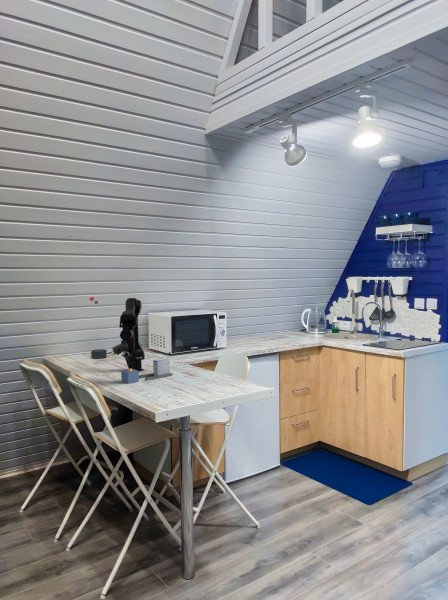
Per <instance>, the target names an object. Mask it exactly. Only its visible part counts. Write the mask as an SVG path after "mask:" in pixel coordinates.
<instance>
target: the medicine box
mask: <svg viewBox="0 0 448 600" xmlns="http://www.w3.org/2000/svg"><path fill="white" fill-rule="evenodd" d="M152 361H153V362H152V365H153V366H152V367H153V372H152V373H154V376H157V375H163V374H168V373H171V365H170V364H171V363H170V362H171V360H170V359H169V358H159V359H154V360H152Z"/></svg>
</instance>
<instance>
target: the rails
mask: <svg viewBox="0 0 448 600" xmlns="http://www.w3.org/2000/svg"><path fill="white" fill-rule="evenodd" d="M172 375H173V372H172V373H171V372H170V373H168V374H163V375H157V376H154V372H150V373H145V374H141V375H139V379H143V378H144V381H151V380H156V379H162V378H167V377H172Z"/></svg>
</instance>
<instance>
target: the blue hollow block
mask: <svg viewBox="0 0 448 600" xmlns="http://www.w3.org/2000/svg"><path fill="white" fill-rule="evenodd" d="M120 372H121V373H120V375H121V376H120V377H121V382H122V383H125V384H129V385H130V384H134V383H138V382H140V378H139V373H140V371H137V370H134V369H132V371H130V372H128V369H125V370H124V369H123V370H121V371H120Z"/></svg>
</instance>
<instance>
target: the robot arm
mask: <svg viewBox="0 0 448 600" xmlns="http://www.w3.org/2000/svg"><path fill="white" fill-rule="evenodd" d="M124 305H125V306H124V307H125V310H124V311H123V312H122V313H121V315H120V316H119V328H120V329H121V328H122V330H121V331H120V332H119V337H120V339H121V341H120V343H119V344H117V345H115V346H113V347H112V348H111V350H112V351H113V354H114V355H118V356H119V355H121V357H123V358H124V360H125V362H126V364H127V369H134V370H137V371H139V372H140V371H145V369H144V368H143V365H142V361H143V360H145V359H146V358H145V357H146V355H145V351H144V349H143V345H142V344H141V343H140V339H139V338H140V334H139V329H140V328H139V316H140V313H141V312H142V311H141V310H142V308H143V304H142V301H141V300H139V299H137V298H136V297H128V298H126V300H125V303H124Z"/></svg>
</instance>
